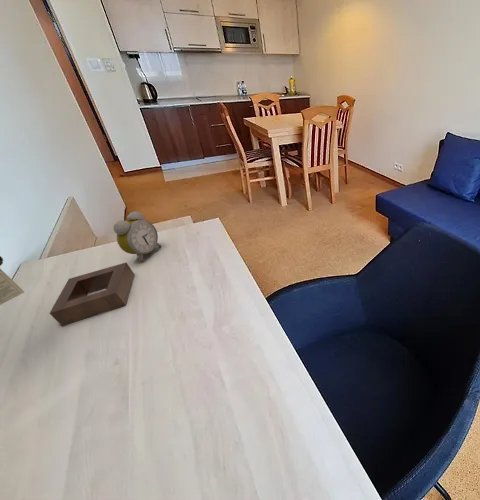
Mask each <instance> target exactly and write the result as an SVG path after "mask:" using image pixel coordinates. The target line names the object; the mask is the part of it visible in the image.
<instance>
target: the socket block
mask: <svg viewBox="0 0 480 500" xmlns="http://www.w3.org/2000/svg"><path fill="white" fill-rule="evenodd" d="M134 278H135V273H134V271H133V270H132V268H131V267H130V265H129V264H128V262H123V263H119V264H116V265H112V266H109V267H104V268H101V269H98V270H94V271H90V272H87V273H84V274H80V275H77V276H73V277H70V278H68V279H67V282H66V283H65V284H64V286H63V288H62V290H61V292H60V294H59V295H58V297H57V299H56V301H55V303H54V304H53V306H52V308H51V310H50V311H49V315H50V316H51V317H52V318H53V319H54V320H55V321H56V322H57V323H58V324H59V325H60V326H61V327H63V326H66V325H69V324H72V323H75V322H79V321H83V320H85V319H88V318H91V317H94V316H97V315H100V314H103V313H107V312H111V311H113V310H116V309H119V308H122V307H126V306H127V303H128V300H129V296H130V292H131V288H132V286H133V281H134ZM104 289H105V290H104ZM100 290H101V291H100ZM97 291H98V292H97ZM91 293H92V294H91Z"/></svg>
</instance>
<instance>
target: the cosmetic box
mask: <svg viewBox="0 0 480 500" xmlns="http://www.w3.org/2000/svg"><path fill="white" fill-rule="evenodd" d="M24 293H25V290H24V289H23V288H22V287H21V286H20V285H18V283H16V282H15V280H13V279H12V278H11V277H10V276H9V275H8V274H7V273H5V271H3V269H2V268H0V306H2V305H4V304H6V303H7V302H9V301H11V300H13V299H14V298H17V297H18V296H20V295H22V294H24Z"/></svg>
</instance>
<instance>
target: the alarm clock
mask: <svg viewBox="0 0 480 500" xmlns="http://www.w3.org/2000/svg"><path fill="white" fill-rule="evenodd" d="M145 219H146V217H145V215H144V214H143V213H141V212H139V211H137V210H134V211H132V212H130V213H129V214H128V215H127V216H126V220H119V221H116V222H115V223H114V225H113V228H112V229H113V231H114V233H115V234H116V242H117V244H118V246H119V248H120V249H121V250H122V251H123V252H124V253H127V254H131V255H137V258H138V261H139V263H143V262H144V255H147V254H150V253H151V252H152V251H153V250H155V248H156V247H159V248H160V247H161V246H162V245H161V244H160V243H159V242H158V240H159V235H158V231H157V228H156V227H155V225H154V224H153V223H152V222H150V221H148V220H147V219H146V220H145Z"/></svg>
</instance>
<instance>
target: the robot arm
mask: <svg viewBox="0 0 480 500" xmlns="http://www.w3.org/2000/svg"><path fill="white" fill-rule="evenodd" d="M3 264H4V258H3V257H2V256H1V255H0V267H1V266H2V265H3Z"/></svg>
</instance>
